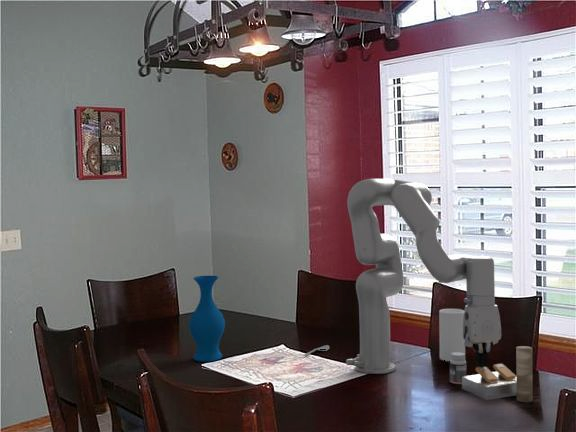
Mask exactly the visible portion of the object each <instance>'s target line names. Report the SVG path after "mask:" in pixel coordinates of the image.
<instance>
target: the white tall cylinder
mask: <svg viewBox="0 0 576 432" xmlns="http://www.w3.org/2000/svg"><path fill="white" fill-rule="evenodd" d="M464 310H465V309H461V308H442V309H440V310H438V311H439V314H438V321H439V323H438V325H439V327H438V329H439V330H438V331H439V360H441V361H444V360H445V361H444V362H449V361H450V360H451V353H454V352H461V353H465V354H466V346H465V345H464V343H465V340H464V338H463V317H464ZM464 360H466V358H465V359H464Z"/></svg>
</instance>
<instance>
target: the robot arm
mask: <svg viewBox="0 0 576 432" xmlns="http://www.w3.org/2000/svg"><path fill="white" fill-rule="evenodd" d="M432 198H433V196H432V192H431V191H430V189H429V188H428V186H427V185H425V184H423V183H420V182H414V181H413V182H412V181H406V180H401V179H395V178H367V179H363V180H360V181H357V182H356V183H355V184H354V185H353V186H352V187H351V189H350V190H349V192H348V196H347V201H346V202H347V203H346V204H347V210H348V214H349V215H348V216H349V220H350V224H351V231H352V239H353V245H354V252H355V255H356V259H357V260H358V261H357V262H358V263H360V264H362V265H364V266H372V265H373V266H374V265H375V268H372V269H367V270H365V271H363V272H361V274H360V275H359V276H358V277H357V278H356V282H355V290H356V295H357V300H358V301H357V302H358V310H359V311H358V312H359V313H358V314H359V318H358V319H359V353H358V354H356V357H354V358H346V360H345V364H346V365H347V366H354V367H355V370H356V371H358V372H360V373H364V374H371V375H374V374H375V375H381V374H382V375H383V374H390V373H391V372H392V373H393V372H394V371H396V370H397V369H396V364H395V363H393V362H391V316H390V315H391V314H390V308H389V304H388V301H387V298H388V297H392V296H396V295H397V294H399V293H400V292H401V291H402V289H403V287H404V271H403V267H402V266H403V265H402V259H401V253H400V248H399V245H398V243H397V241H396V239H395V238H394V237H393V236H391V235H390V234H388V233H381V231H380V225H379V219H378V217H377V214H376V213H375V211H374V209H373V207H376V206H377V207H378V206H392V207H394V208H395V210H396V211H397V213H398V214H399V215H400V217H401V218H402V219H403V221H404V223H406V225H407V226H408V227H409V230H410V231H411V233H412V234H413V235H414V237H415V244H416V250H417V254H418V256H419V259H420V260H421V262H422V264H423V265H424V267H425V268H426V269H427V271H428V272H429V273H430V275H431V276H432V277H433V278H434V279H435V280H436V281H438V282H439V283H442V284H450V283H454V282H459V281H463V280H466V281H465V282H466V284H465V285H466V297H465V298H463V302H464V304H465V303H466V305H465V306H464V309H463V310H464V317H463V338H464V340H465V343H464V345H465V347H468V348H471V349H472V350H473V352H475V364H476V366H477V367H487V368H488V367H489V365H488V364H489V363H488V362H489V354H488V353H490V351H491V348H492V347H493V345H496V344H498V343H499V341H500V340H501V339H502V325H501V323H502V322H501V315H500V312H499V308H498V305H497V304H496V301H495V298H496V297H495V296H496V295H495V292H496V291H495V290H496V289H495V259H493V257H491V256H488V255H487V256H486V255H476V256H474V255H473V256H472V255H469V254H464V253H457V254H447V253H446V251H445V250H444V249H443V247H442V246H441V245H440V243H439V240H438V237H437V230H438V228H439V226H440V223H441V221H440V219H439V218H438V216H437V215H436V213H435V212H434V210H433V209H432V208H431V206H430V205H431V203H432V202H433V201H432V200H433V199H432Z"/></svg>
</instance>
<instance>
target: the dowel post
mask: <svg viewBox="0 0 576 432" xmlns="http://www.w3.org/2000/svg"><path fill="white" fill-rule="evenodd" d="M515 349H516V351H515V353H516V355H515V356H516V357H515V358H516V359H515V360H516V364H515V365H516V366H515V367H516V376H517V395H516V401H517V402H522V403H531V402H533V399H534V398H533V397H534V396H533V391H534V390H533V348H532V347H531V346H526V345H525V346H524V345H521V346H516V347H515Z"/></svg>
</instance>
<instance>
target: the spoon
mask: <svg viewBox="0 0 576 432" xmlns="http://www.w3.org/2000/svg"><path fill="white" fill-rule="evenodd" d="M320 349H326V350H320ZM329 349H330V345H328V344H327V345H323V346H320V347H317V348H314V349H312V350H311V351H309V352H306V353H305V354H303V356H306V357H307V356H308V355H310V354H312V353H314V352H316V351H318V352H326V351H328V350H329Z"/></svg>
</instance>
